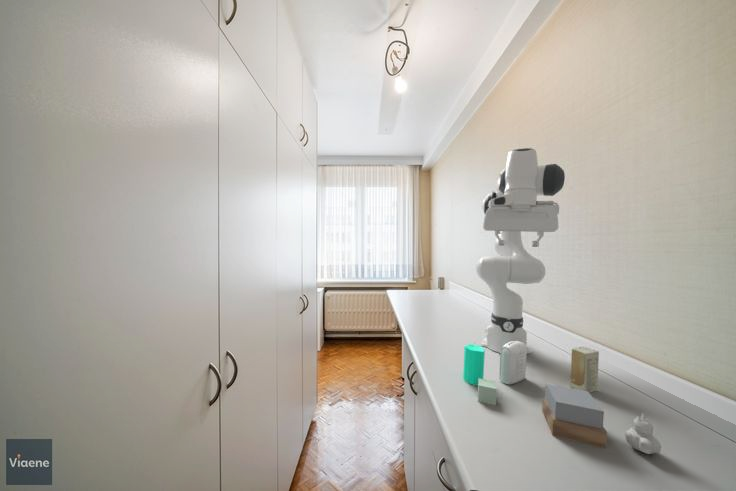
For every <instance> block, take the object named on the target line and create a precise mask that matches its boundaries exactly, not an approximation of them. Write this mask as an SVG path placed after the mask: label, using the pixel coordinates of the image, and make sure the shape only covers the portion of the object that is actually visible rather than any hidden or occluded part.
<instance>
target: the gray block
mask: <svg viewBox="0 0 736 491" xmlns="http://www.w3.org/2000/svg"><path fill="white" fill-rule="evenodd" d="M544 398H545V399H546V401H547V403H548V405H549V408H550V410H551V412H552V414H553V416H554V418H555V419H558V420H563V421H567V422H572V423H576V424H581V425H585V426H590V427H594V428H599V429H603V427H604V419H605V418H604V417H605V416H604V414H605V411H604V409H602V407H601V406H600V405H599V403H598V402H597V401H596V400H595V399H594V398H593V396H592V394H591V393H590V392H588V391H583V390H578V389H574V388H572V387H567V386H566V387H565V386H561V385H555V384H549V383H546V384H545V396H544Z"/></svg>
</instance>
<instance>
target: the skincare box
mask: <svg viewBox="0 0 736 491" xmlns="http://www.w3.org/2000/svg"><path fill="white" fill-rule="evenodd" d="M599 355H600V352H599V351H598V350H596V349H592V348H590V347H586V346H580V347H573V348H571V357H570V358H571V361H570V362H571V363H570V385H569V386H570V387H569V388H572V389H578V390H583V391H588V392H589V393H593V392H596V391H598V389H599V388H598V386H599V384H598V383H599V382H598V381H599V380H598V379H599V360H600V359H599Z"/></svg>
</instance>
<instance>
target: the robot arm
mask: <svg viewBox="0 0 736 491" xmlns="http://www.w3.org/2000/svg"><path fill="white" fill-rule="evenodd" d="M505 163H506V164H505V168H504V169H503V170H501V172H499V178H498V180H497V182H496V186H495V188H496V191H494V190H491V192H490V193H488V194H486V196H484V199H483V200H482V204H481V207H482V211H483V213H484V219H483V225H482V229H483V230H484V231H487V232H492V231H493V234H494V235H493V236H494V238H493V239H494V241H493V242H494V250H495V252H496V253H497V255H487V256H481V257H480V258H479V259H478V260H477V263H476V267H475V270H476V273H477V275H478V277H479V278H480V279H481V280H482V281H484V283H485V284H486V285H487V286H488V288H489V289H490V292H491V294H492V296H491V297H492V313H491V316H490V318H491V319H490V324H489V325H488V326H487V327H485V333H486V334H485V336H484V338H483V340H482V341H481V345H480V346H481V347H482V346H483V348H484V347H485V348H488V349H489V350H491V351H494V352H496V353H499V354H501V348H502V347H503V346H504V345H505V344H507V343H509V342H511V341H519V342H522V343H524V344H525V345H526V348H527V354H532V350H531V349H530V348H529V347H528V346H527V345H528V342H527V341H528V336H527V335H528V333H527V331H526V330H525V329H524V328H523V327H524V317H523V308H524V307H523V305H524V304H523V303H524V302H523V301H524V300H523V298H522V296H521V295H520V294H519V293H517V292H515V291H513V290H511V289H509V288H508V286H507V285H508V284H523V285H530V284H531V285H532V284H539V283H541V282H542V281H543V279H544V278H545V276H546V266H545V265H544V263H543V262H542V261H541V260H540V259H538V258H536V257H534V256H533V255H531V254H530V253H529V252H528V251H527V249H525V247H524V245H523V240H522V239H523V238H522V232H533V233H534V232H535V233H536V236H537V237H536V239H535V240H531V243H532V244H531V247H533V248H539V247H540V241H541V239H542V238H543V237H544V235H545V233H553V232H556V231H557V230H558V229H559V217H558V216H559V213H560V205H559V204H558V203H557V202H555V201H554V200H547V201H546V200H537V199H538V198H537V197H538V196H545V197H546V196H547V197H553V196H555V195H556V194H558V193H559V192H560V191H562V189H563V187H564V184H565V177H566V175H565V174H566V173H565V170H564V169H563V168H562V167H561V166H560V165H558V164H556V163H549V164H545V165H539V164H538V155H537V150H536V149H534V148H531V147H527V148H526V147H525V148H524V147H523V148H518V149H513V150H511V151H509V152H508V153H507V159H506V162H505Z"/></svg>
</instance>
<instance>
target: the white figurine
mask: <svg viewBox="0 0 736 491" xmlns="http://www.w3.org/2000/svg"><path fill="white" fill-rule="evenodd" d="M653 433H654V427H653V425H652V423H651V421H650V420H649V418H645V415H644V413H643V412H642V414H641V416H637V417H636V418H634V419H633V420H632V427H630V428H629V429H627V430H625V433H624V436H625V440H626V442H627V444H628V445H630V446H631V447H632V448H634V449H635V450H637V451H639V452H642V453H644V454H647V455H650V454H659V453H660V452H661V451H662V445H661V443H660V441H659V440H658V439H657V438H656V437H655V436H654V435H653Z"/></svg>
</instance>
